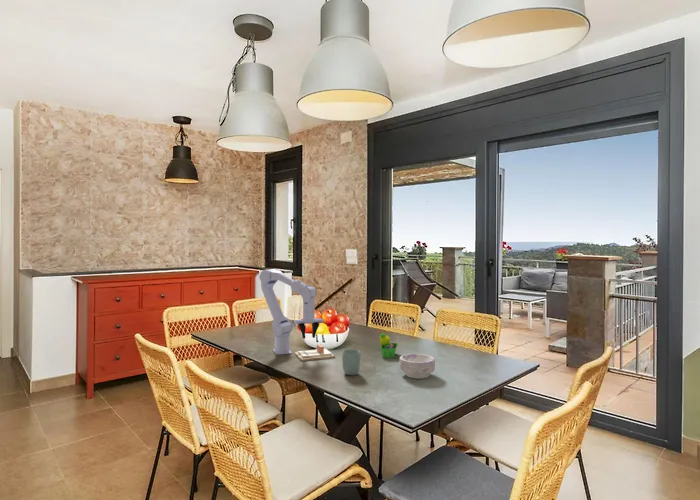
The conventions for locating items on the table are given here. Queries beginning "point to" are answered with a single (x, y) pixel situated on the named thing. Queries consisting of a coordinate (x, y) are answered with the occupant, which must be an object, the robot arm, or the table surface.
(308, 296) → the robot arm
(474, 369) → the table surface
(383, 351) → the fruit basket
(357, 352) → the cup
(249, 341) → the table surface
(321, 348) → the pinkish brown block
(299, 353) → the board
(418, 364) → the pale mottled bowl
